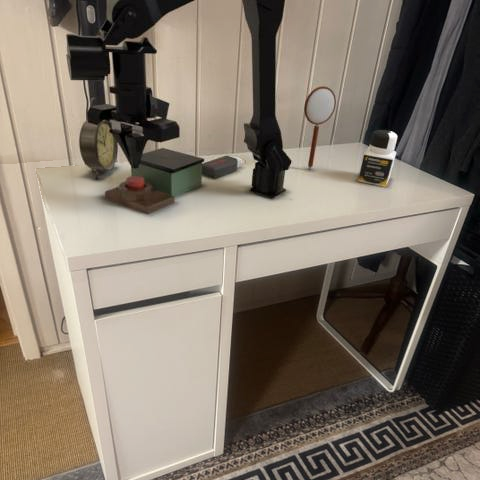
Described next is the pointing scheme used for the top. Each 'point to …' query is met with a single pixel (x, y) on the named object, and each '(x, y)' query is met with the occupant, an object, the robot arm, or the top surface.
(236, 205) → the top surface
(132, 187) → the button
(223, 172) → the usb drive
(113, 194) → the control block
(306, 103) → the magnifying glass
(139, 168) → the cooker
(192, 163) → the cooker lid
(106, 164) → the alarm clock
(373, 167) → the medicine bottle
